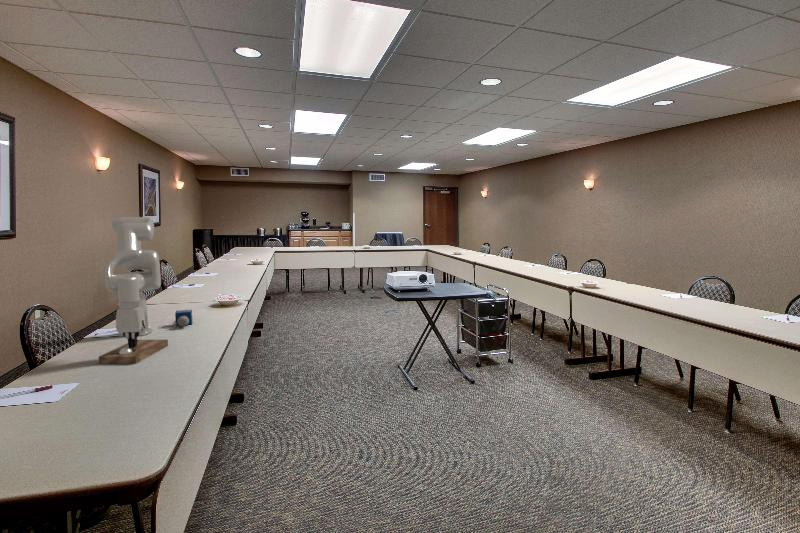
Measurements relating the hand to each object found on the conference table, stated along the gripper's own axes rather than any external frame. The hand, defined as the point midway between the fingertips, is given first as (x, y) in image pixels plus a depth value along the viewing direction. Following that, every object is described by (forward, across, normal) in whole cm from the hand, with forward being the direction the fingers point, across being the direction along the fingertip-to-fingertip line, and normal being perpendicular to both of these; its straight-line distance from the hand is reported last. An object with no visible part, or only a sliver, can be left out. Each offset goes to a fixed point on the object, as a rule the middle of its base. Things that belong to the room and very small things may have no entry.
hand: (133, 347), depth 183 cm
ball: (+1, 0, -5) cm, 5 cm away
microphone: (+4, -5, +55) cm, 55 cm away
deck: (+4, 0, +2) cm, 4 cm away
